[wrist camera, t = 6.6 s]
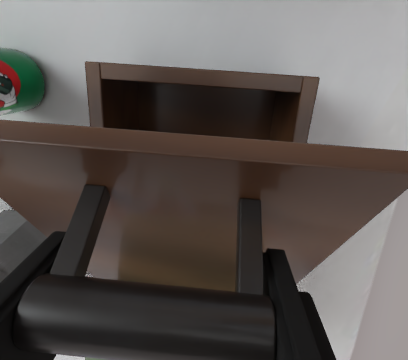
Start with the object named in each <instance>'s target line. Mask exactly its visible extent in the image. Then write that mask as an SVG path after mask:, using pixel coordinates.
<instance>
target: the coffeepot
mask: <svg viewBox="0 0 408 360" xmlns="http://www.w3.org/2000/svg"><path fill="white" fill-rule="evenodd" d="M46 238H47V237H46V236H45V235H44V234H43V233H41V232H40V231H39V230H38V229H37V228H36V227H34V226H33V225H32V224H31V223H30V222H28V221H27V220H26V219H25V218H24V217H23V216H21V215H20V214H19V213H18V212H17V211H16V210H13V211H6V210H4V211H3V212H1V213H0V282H2V281H3V280H4V279H5V278H6V277H7V276H8V275H9V274H10V273H11V272H12V271H13V270H14V269H15V268H16V267H17V266H18V265H19V264H20V263H21V262H22V261H23V260H25V259H26V258H27V257H28V256H29V255H30V254H31V253H32V252H33V251H34V250H35V249H36V248H37V247H38V246H39V245H40V244H41V243H42V242H43V241H44V240H45V239H46Z"/></svg>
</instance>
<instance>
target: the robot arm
mask: <svg viewBox="0 0 408 360" xmlns="http://www.w3.org/2000/svg"><path fill="white" fill-rule="evenodd" d="M65 233H66V232H63V231H54V232H53V233H52V234H51V235H50V236H49V237H48V238H46V239H45V240H44V241H43V242H42V243H41V244H40V245H39V246H38V247H37V248H36V249H35V250H34V251H33V252H32V253H31V254H30V255H29V256H28V257H27V258H26V259H25V260H23V261H22V262H21V263H20V264H19V265H18V266H17V267H16V268H15V269H14V270H13V271H12V272H11V273H10V274H9V275H8V276H7V277H6V278H5V279H4V280H3V281H2V282H0V360H53V359H54V358H55V356H56V354H51V353H42V352H33V351H24V350H21V349H19V348H18V347H17V346H16V345H15V344H14V341H13V337H12V325H13V319H14V315H15V312H16V309H17V306H18V304H19V301H20V299H21V297H22V295H23V294H24V292H25V290H26V289H27V288H28V286H29V285H30V284H31V283H32V282H33V281H34V280H35V279H36V278H37V277H39V276H41V275H43V274H46V273H50V271H51V268H52V266H53V263H54V261H55V258H56V256H57V253H58V251H59V248H60V246H61V243H62V241H63V238H64V236H65ZM263 279H264V295H268V296H269V297H270V298H271V300H272V303H273V307H274V312H275V319H276V331H277V348H276V360H336V358H335V355H334V353H333V350H332V348H331V345H330V342H329V340H328V337H327V335H326V332H325V330H324V327H323V325H322V322H321V319H320V317H319V314H318V312H317V309H316V307H315V304H314V302H313V299H312V297H311V295H310V294H309V293H308V292H298V289H297V286H296V283H295V280H294V277H293V274H292V271H291V268H290V265H289V262H288V259H287V257H286V254H285V251H284V250H282V249H270V248H267V249H266V252H263Z"/></svg>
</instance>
